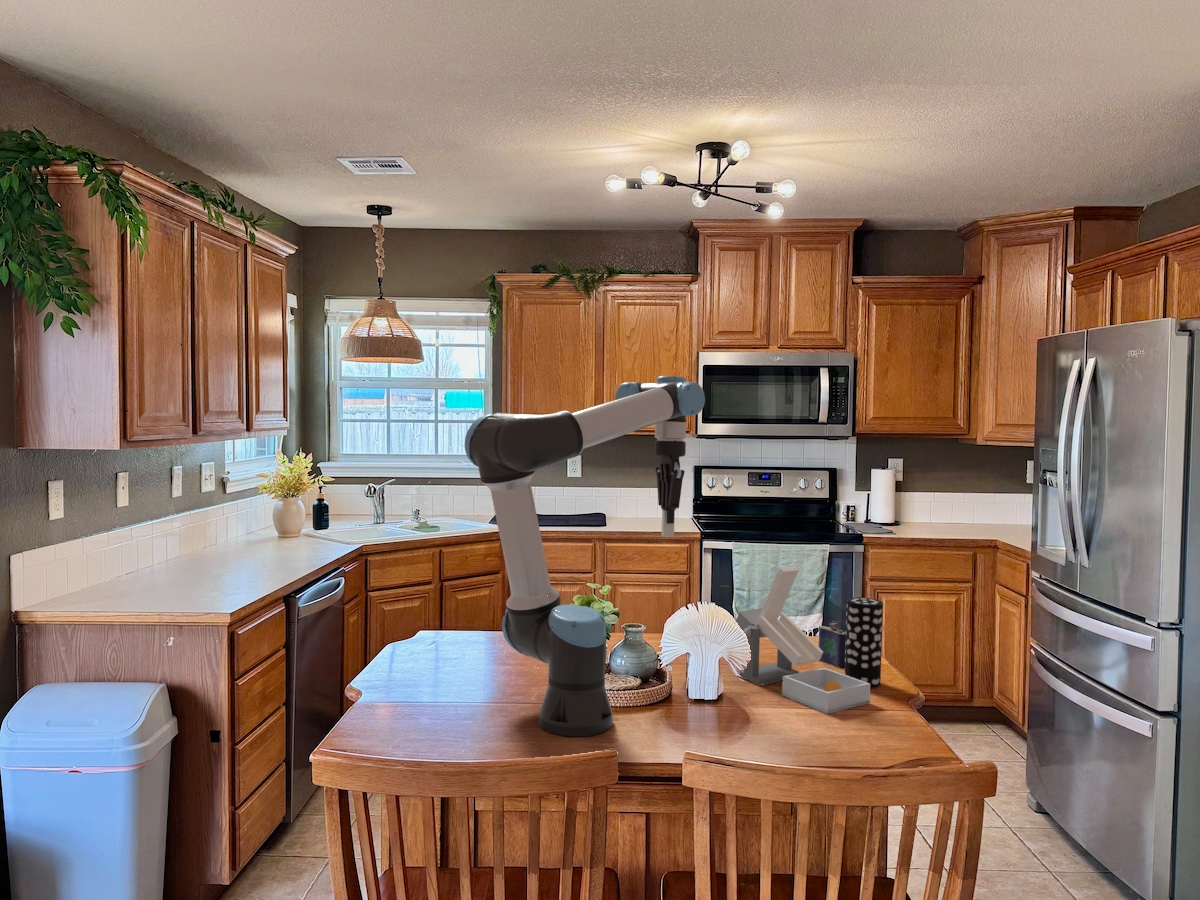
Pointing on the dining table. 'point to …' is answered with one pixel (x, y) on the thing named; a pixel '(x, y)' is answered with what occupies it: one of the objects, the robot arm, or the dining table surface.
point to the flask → (832, 645)
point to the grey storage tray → (812, 692)
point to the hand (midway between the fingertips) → (667, 536)
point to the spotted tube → (864, 640)
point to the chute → (781, 622)
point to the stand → (766, 671)
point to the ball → (832, 686)
